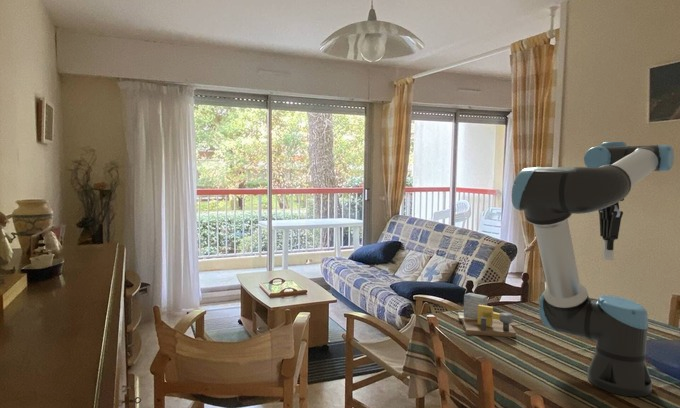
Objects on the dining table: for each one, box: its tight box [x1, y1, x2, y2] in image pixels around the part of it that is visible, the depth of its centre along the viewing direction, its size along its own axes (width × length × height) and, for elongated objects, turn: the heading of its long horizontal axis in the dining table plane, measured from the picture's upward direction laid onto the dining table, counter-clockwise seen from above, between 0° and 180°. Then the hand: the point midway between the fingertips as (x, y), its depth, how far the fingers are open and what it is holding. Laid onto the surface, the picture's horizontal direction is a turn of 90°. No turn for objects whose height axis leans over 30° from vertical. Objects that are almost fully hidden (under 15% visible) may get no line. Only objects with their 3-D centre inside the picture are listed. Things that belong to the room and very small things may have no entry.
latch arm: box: [477, 305, 514, 327], centre depth 163 cm, size 12×4×7 cm, turn 56°
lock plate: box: [457, 311, 517, 338], centre depth 170 cm, size 20×18×6 cm
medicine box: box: [463, 292, 488, 319], centre depth 175 cm, size 8×4×9 cm, turn 49°
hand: (607, 259), depth 151 cm, fingers closed
